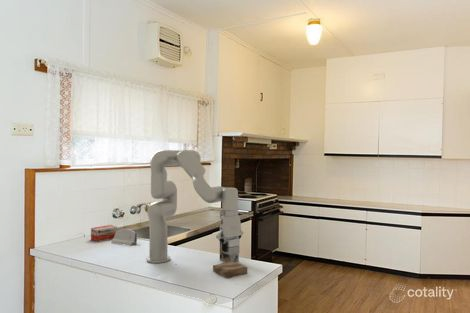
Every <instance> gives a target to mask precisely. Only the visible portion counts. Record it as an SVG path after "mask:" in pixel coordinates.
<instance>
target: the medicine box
mask: <svg viewBox="0 0 470 313" xmlns="http://www.w3.org/2000/svg"><path fill="white" fill-rule="evenodd" d="M117 230H118V226H116V225H113V224H109V225H102V226H101V225H100V226H97V227H91V228H90V240H91V241H94V242H101V241H107V240H113V239H114V236H115V233H116V231H117Z"/></svg>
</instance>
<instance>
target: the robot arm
mask: <svg viewBox="0 0 470 313" xmlns="http://www.w3.org/2000/svg"><path fill="white" fill-rule="evenodd" d="M201 161H202V160H201V154H200V153H199V152H198V151H196V150H192V149H184V150H177V149H176V150H175V149H173V150H172V149H162V150H158V151H156V152H154V154H153V155H151V158H150V195H151V197H152V198H153V199H155V200H158V201H154V202H152V203H151V204H150V205H149V206H148V207H147V216H148V224H149V231H148V232H149V252H148V253H149V256H147V257H146V262H147V263H151V264H162V263H166V262H169V261H170V260H171V256H170V255H168V223H167V221H166V218H169V217H172V216H174V215H175V214H176V212H177V207H178V205H177V204H178V188H177V186H176V184H175V182H173V181H172V180H168V172H167V169H166V167H172V166H173V167H174V166H175V167H177V166H180V167H181V168H182V170H184V171H185V173H186V174H187V176H189V177H190V178H191V180H192V185H193V188H194V191H195V192H196V193H197V194H198V195H199V197H200V198H201V199H202V200H203V201H204V202H205V203H208V204H213V203H218V202H219V203H220V202H221V204H222V211H220V215H221V217H220V223H219V232H218V233H217V235H216V236H215V238H216V239H217V240H218V241H219V243H220V242H221V243H222V251H224V252H227V244H226V241H227V238H232V237H236V238H239V240H240V239H241V238H242V236H243V234H244V231H243V230H242V224H241V223H242V222H241V217H240V215H239V210H238V209H239V196H238V195H239V190H238V189H237V187H226V186H212V187H211V186H210V184H208V182H207V181H206V179H205V178H204V175H205V173H206V168H205V167H204V166H203V164H202V163H201ZM220 236H221V237H222V238H221V237H220Z"/></svg>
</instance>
